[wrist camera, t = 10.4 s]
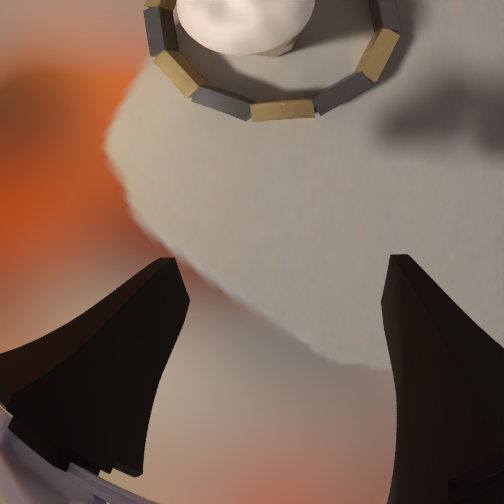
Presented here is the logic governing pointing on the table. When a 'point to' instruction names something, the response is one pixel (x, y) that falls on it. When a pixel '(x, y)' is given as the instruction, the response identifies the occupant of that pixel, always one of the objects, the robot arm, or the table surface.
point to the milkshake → (245, 24)
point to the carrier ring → (243, 108)
